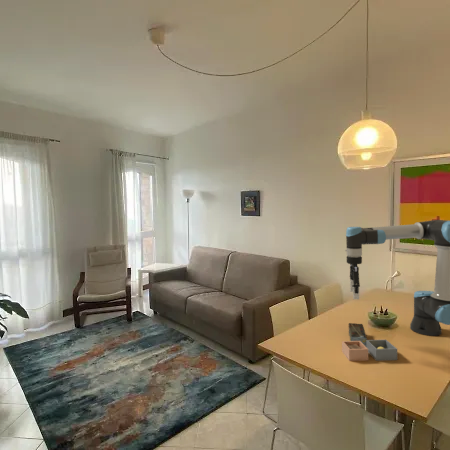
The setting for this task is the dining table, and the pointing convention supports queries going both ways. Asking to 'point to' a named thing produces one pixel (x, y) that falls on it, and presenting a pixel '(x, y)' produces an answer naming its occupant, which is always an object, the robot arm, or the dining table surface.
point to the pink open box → (355, 351)
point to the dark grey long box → (357, 333)
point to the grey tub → (381, 350)
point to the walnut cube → (354, 346)
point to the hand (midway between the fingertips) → (354, 295)
